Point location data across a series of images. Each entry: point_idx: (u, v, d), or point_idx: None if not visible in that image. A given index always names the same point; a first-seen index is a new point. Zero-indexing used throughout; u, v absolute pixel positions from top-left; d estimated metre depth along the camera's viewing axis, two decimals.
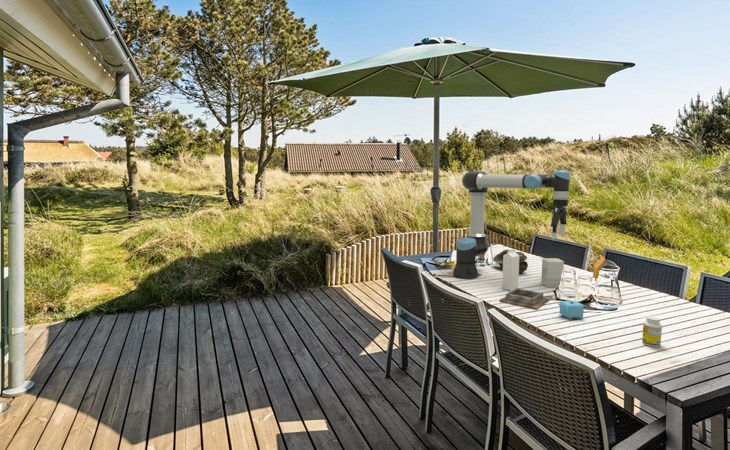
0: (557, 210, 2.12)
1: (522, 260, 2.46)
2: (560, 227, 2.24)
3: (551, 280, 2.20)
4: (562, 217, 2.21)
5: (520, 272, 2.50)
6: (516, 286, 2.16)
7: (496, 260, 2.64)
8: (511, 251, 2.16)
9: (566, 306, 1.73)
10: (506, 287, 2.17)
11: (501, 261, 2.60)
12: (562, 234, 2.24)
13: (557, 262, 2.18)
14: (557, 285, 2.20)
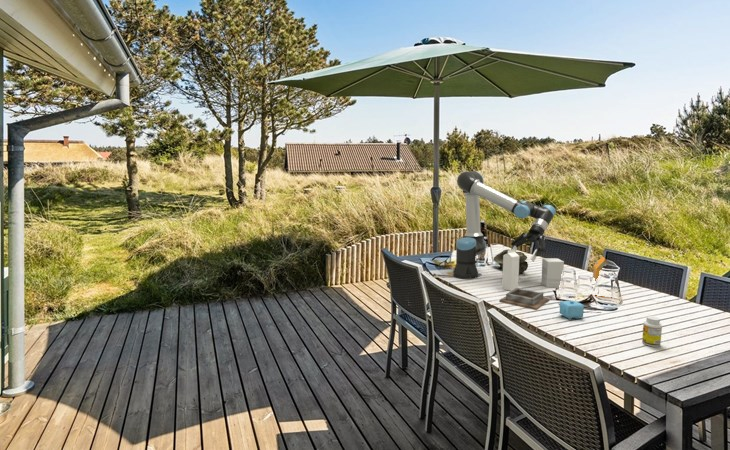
0: (545, 238, 2.18)
1: (522, 260, 2.46)
2: (514, 248, 2.25)
3: (551, 280, 2.20)
4: (524, 242, 2.25)
5: (520, 272, 2.50)
6: (516, 286, 2.16)
7: (496, 260, 2.64)
8: (511, 251, 2.16)
9: (566, 306, 1.73)
10: (506, 287, 2.17)
11: (501, 261, 2.60)
12: None
13: (557, 262, 2.18)
14: (557, 285, 2.20)
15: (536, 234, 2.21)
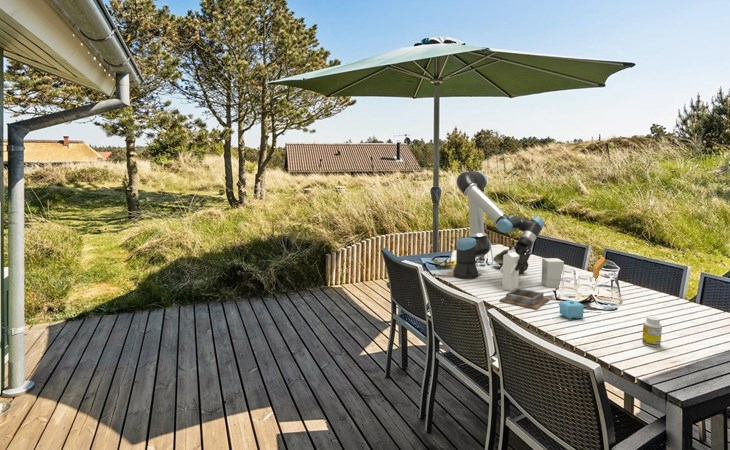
0: (531, 253, 2.15)
1: None
2: None
3: (551, 280, 2.20)
4: None
5: (521, 272, 2.50)
6: (516, 286, 2.16)
7: (496, 260, 2.64)
8: (511, 251, 2.16)
9: (566, 306, 1.73)
10: (506, 287, 2.17)
11: (501, 261, 2.60)
12: (502, 271, 2.18)
13: (557, 262, 2.18)
14: (557, 285, 2.20)
15: (525, 246, 2.18)
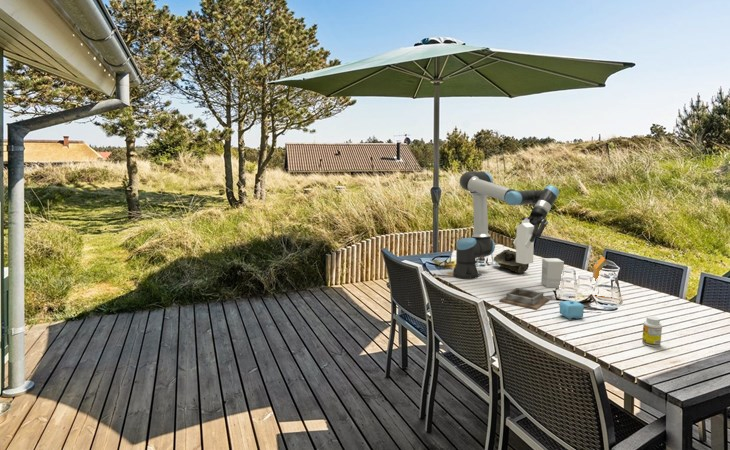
0: (546, 223, 1.99)
1: None
2: None
3: (551, 280, 2.20)
4: None
5: (521, 272, 2.50)
6: (531, 259, 2.00)
7: (496, 260, 2.64)
8: (525, 221, 2.00)
9: (566, 306, 1.73)
10: (520, 260, 2.01)
11: (502, 261, 2.60)
12: None
13: (557, 262, 2.18)
14: (557, 285, 2.20)
15: (539, 216, 2.02)
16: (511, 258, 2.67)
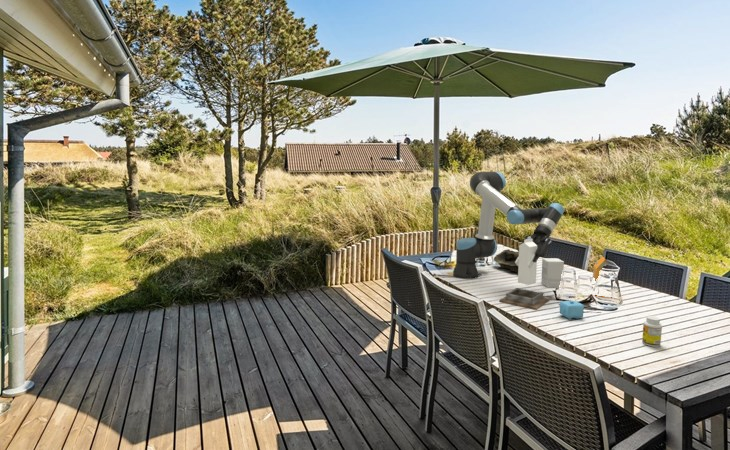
0: (550, 243, 1.92)
1: None
2: None
3: (551, 280, 2.20)
4: None
5: None
6: (534, 280, 1.93)
7: (497, 260, 2.64)
8: (528, 240, 1.93)
9: (566, 306, 1.73)
10: (523, 281, 1.94)
11: (502, 261, 2.60)
12: (518, 263, 1.95)
13: (557, 262, 2.18)
14: (557, 285, 2.20)
15: (543, 235, 1.95)
16: (511, 258, 2.67)
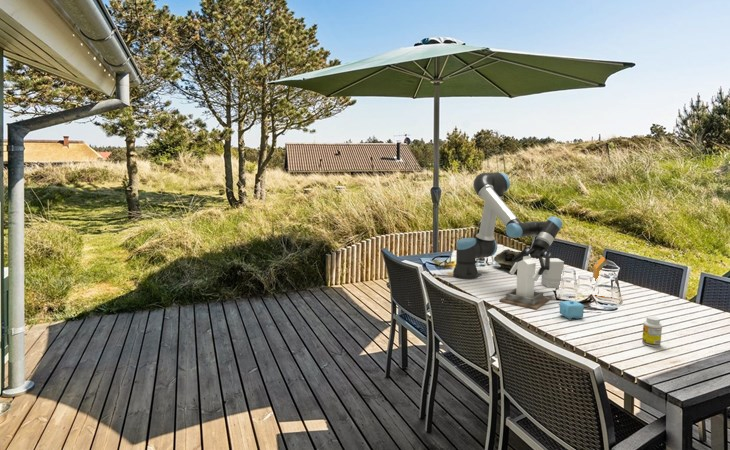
0: (550, 255, 1.93)
1: None
2: (515, 265, 2.01)
3: (551, 280, 2.20)
4: None
5: None
6: (532, 296, 1.95)
7: (497, 260, 2.64)
8: (526, 257, 1.94)
9: (566, 306, 1.73)
10: None
11: (502, 261, 2.60)
12: (513, 273, 2.00)
13: (557, 262, 2.18)
14: (557, 285, 2.20)
15: (540, 249, 1.97)
16: (511, 258, 2.67)
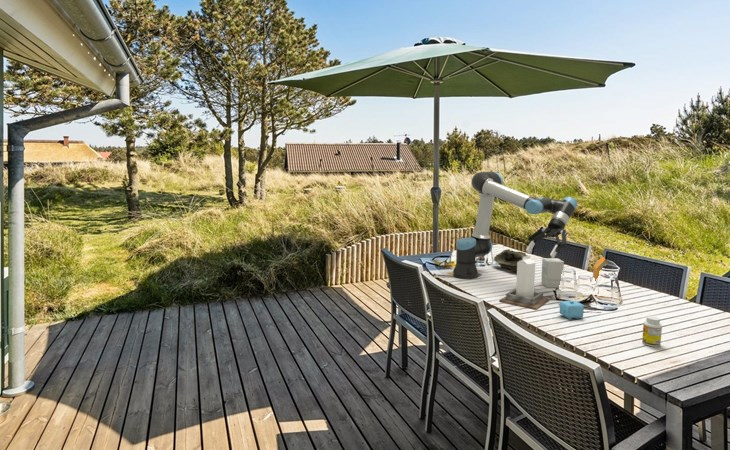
0: (566, 233, 1.99)
1: None
2: (531, 244, 2.06)
3: (551, 280, 2.20)
4: (542, 237, 2.06)
5: None
6: (532, 296, 1.95)
7: (497, 260, 2.64)
8: (526, 257, 1.94)
9: (566, 306, 1.73)
10: None
11: (502, 261, 2.60)
12: (529, 251, 2.06)
13: (557, 262, 2.18)
14: (557, 285, 2.20)
15: (556, 228, 2.02)
16: (511, 258, 2.67)
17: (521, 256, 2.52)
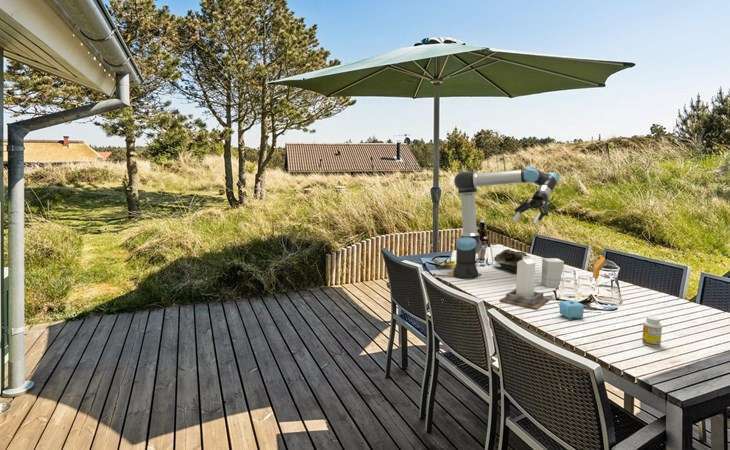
0: (548, 204, 2.21)
1: None
2: (517, 214, 2.29)
3: (551, 280, 2.20)
4: (527, 208, 2.29)
5: None
6: (532, 296, 1.95)
7: (497, 260, 2.64)
8: (526, 257, 1.94)
9: (566, 306, 1.73)
10: None
11: (502, 261, 2.60)
12: (515, 221, 2.28)
13: (557, 262, 2.18)
14: (557, 285, 2.20)
15: (539, 200, 2.25)
16: (511, 258, 2.67)
17: (521, 256, 2.52)
